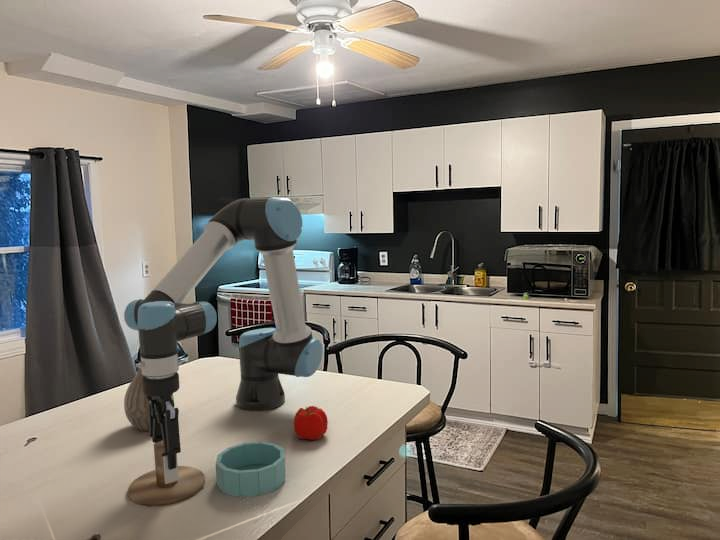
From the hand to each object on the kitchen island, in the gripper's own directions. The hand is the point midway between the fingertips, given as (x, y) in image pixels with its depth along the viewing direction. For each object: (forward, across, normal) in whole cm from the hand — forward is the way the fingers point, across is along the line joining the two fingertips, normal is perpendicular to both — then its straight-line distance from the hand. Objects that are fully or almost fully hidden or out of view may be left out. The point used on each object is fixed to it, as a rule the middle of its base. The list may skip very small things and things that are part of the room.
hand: (166, 475), depth 123 cm
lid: (+2, 0, 0) cm, 2 cm away
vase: (+3, -38, +8) cm, 39 cm away
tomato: (+3, -3, +39) cm, 39 cm away
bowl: (+3, +9, +16) cm, 19 cm away
